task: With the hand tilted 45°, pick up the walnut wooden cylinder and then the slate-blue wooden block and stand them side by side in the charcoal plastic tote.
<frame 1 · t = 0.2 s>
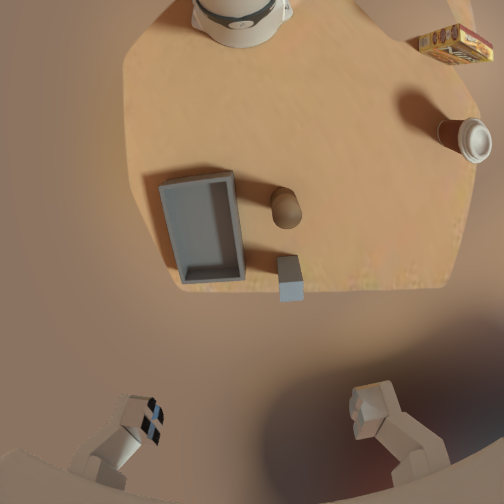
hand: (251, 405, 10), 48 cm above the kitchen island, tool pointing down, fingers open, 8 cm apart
tote: (207, 225, 58), on the kitchen island
coffee cup: (447, 133, 46), on the kitchen island
wooden cylinder: (283, 199, 55), on the kitchen island
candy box: (434, 51, 37), on the kitchen island
slate block: (287, 265, 62), on the kitchen island
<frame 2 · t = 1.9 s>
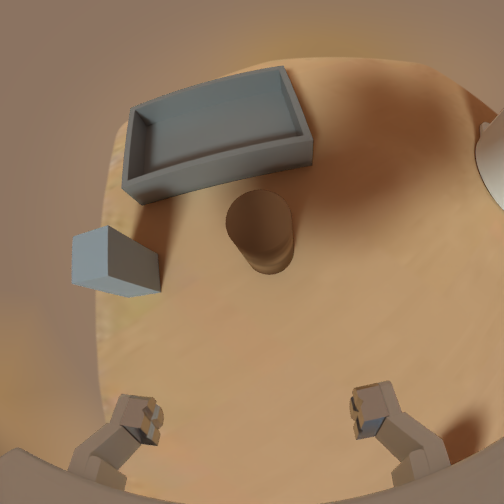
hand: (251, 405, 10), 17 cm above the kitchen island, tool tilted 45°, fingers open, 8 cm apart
tote: (216, 140, 35), on the kitchen island
wooden cylinder: (269, 251, 30), on the kitchen island
slate block: (142, 276, 31), on the kitchen island
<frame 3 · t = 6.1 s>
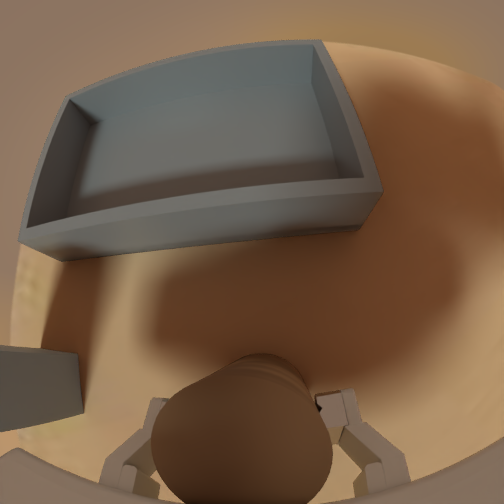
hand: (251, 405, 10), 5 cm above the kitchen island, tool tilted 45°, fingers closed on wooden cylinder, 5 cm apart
tote: (188, 158, 19), on the kitchen island
wooden cylinder: (261, 395, 14), on the kitchen island, touching gripper
slate block: (59, 379, 16), on the kitchen island
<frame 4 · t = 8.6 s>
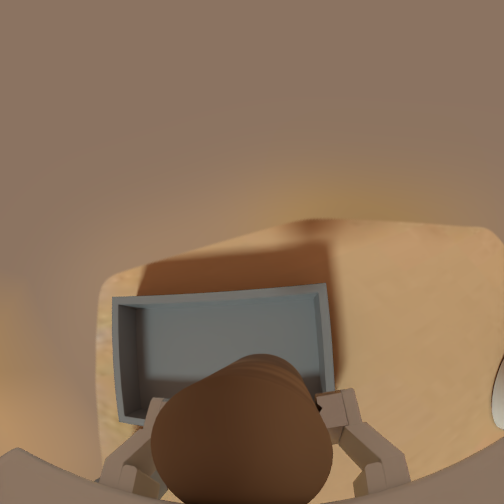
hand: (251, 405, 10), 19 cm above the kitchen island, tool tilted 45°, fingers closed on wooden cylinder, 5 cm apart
tote: (223, 360, 29), on the kitchen island
wooden cylinder: (261, 395, 14), point 14 cm above the kitchen island, touching gripper
when the fingers open (8 cm above the kitchen island, at t = 11.3 s): wooden cylinder drops 2 cm, resting on tote.
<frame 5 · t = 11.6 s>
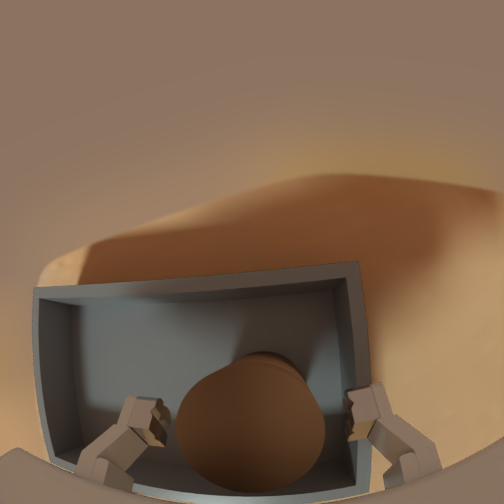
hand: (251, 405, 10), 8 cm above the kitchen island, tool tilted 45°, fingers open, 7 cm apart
tote: (191, 388, 18), on the kitchen island
wooden cylinder: (263, 388, 16), point 1 cm above the kitchen island, touching tote
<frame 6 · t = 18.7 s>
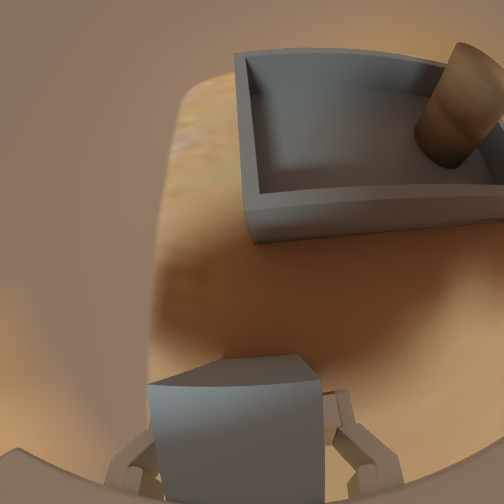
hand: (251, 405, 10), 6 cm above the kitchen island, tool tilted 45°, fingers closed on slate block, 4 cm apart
tote: (385, 149, 19), on the kitchen island
wooden cylinder: (439, 143, 18), point 1 cm above the kitchen island, touching tote
slate block: (262, 392, 15), on the kitchen island, touching gripper
when the fingers open (8 cm above the kitchen island, at t = 25.5 s): slate block drops 1 cm, resting on tote.
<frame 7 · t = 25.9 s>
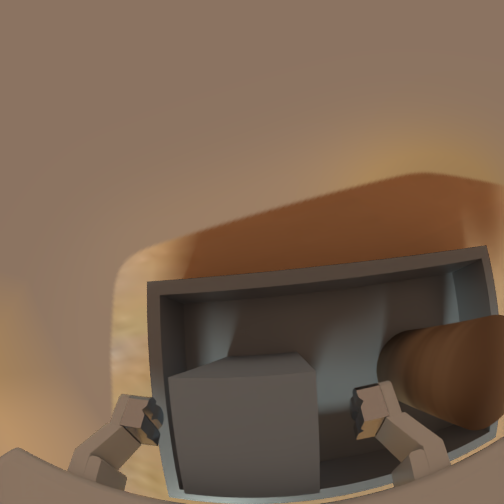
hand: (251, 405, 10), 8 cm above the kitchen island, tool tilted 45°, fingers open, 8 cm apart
tote: (336, 377, 17), on the kitchen island
wooden cylinder: (408, 365, 16), point 1 cm above the kitchen island, touching tote
slate block: (264, 387, 17), point 1 cm above the kitchen island, touching tote
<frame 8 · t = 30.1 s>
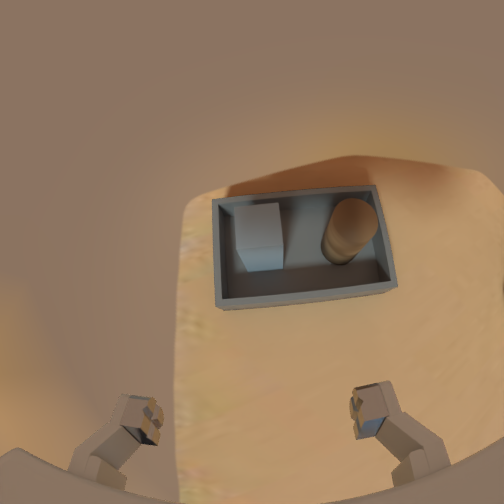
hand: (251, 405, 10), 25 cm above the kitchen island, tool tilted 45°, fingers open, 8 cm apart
tote: (301, 252, 38), on the kitchen island
wooden cylinder: (338, 246, 36), point 1 cm above the kitchen island, touching tote
slate block: (264, 254, 37), point 1 cm above the kitchen island, touching tote
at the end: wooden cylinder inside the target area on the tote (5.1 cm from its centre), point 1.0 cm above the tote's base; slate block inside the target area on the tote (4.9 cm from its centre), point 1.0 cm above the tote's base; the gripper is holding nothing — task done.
